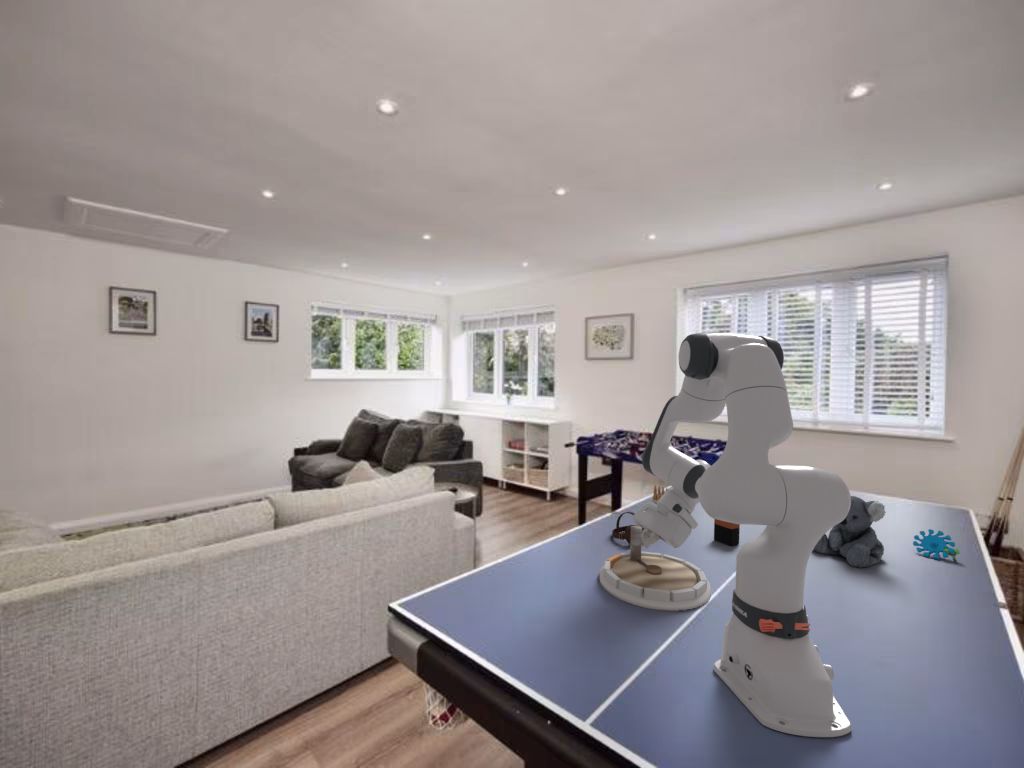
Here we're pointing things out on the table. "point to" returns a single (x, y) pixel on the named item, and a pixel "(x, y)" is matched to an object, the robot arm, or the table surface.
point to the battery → (726, 532)
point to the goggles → (618, 531)
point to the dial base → (655, 603)
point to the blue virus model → (935, 545)
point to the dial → (652, 569)
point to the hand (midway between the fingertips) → (642, 545)
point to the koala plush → (856, 535)
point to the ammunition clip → (658, 493)
